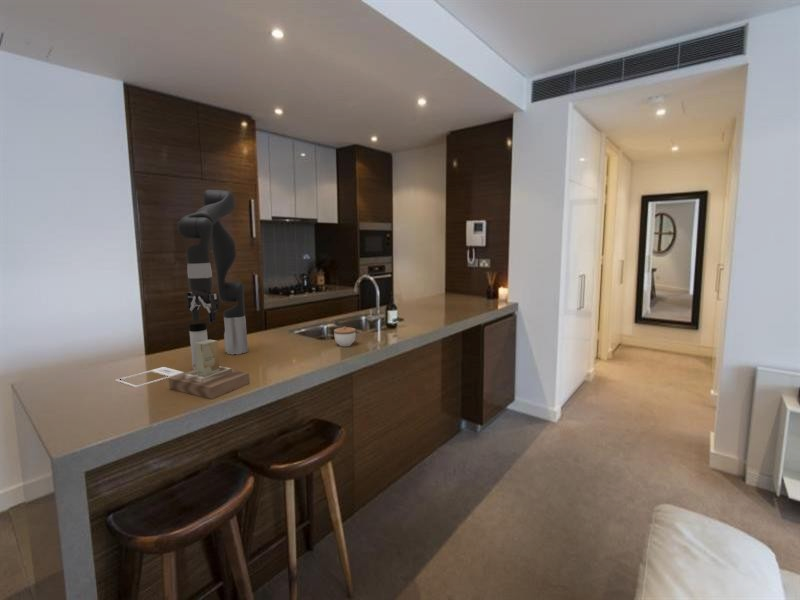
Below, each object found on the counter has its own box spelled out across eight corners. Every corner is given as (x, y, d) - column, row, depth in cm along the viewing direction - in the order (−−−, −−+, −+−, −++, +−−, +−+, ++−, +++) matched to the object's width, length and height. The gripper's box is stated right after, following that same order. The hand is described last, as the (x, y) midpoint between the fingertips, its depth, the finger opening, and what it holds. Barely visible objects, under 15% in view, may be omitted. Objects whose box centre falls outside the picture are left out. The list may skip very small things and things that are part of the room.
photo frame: (183, 371, 160) (135, 386, 145) (184, 374, 160) (135, 389, 145) (163, 366, 167) (115, 379, 152) (163, 368, 167) (115, 382, 152)
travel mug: (193, 373, 159) (188, 324, 156) (193, 369, 165) (188, 321, 162) (210, 371, 162) (206, 322, 159) (209, 366, 168) (205, 319, 165)
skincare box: (205, 378, 141) (202, 344, 139) (197, 376, 143) (193, 342, 141) (220, 372, 147) (218, 340, 145) (212, 371, 149) (209, 338, 147)
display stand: (169, 388, 143) (168, 374, 142) (208, 375, 157) (207, 361, 156) (211, 399, 133) (210, 383, 132) (249, 383, 147) (248, 369, 147)
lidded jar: (354, 347, 194) (354, 328, 193) (332, 347, 195) (331, 328, 193) (357, 342, 205) (356, 324, 204) (336, 342, 205) (335, 324, 204)
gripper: (176, 276, 139) (181, 322, 142) (204, 278, 133) (208, 326, 135) (196, 274, 146) (200, 318, 148) (223, 275, 139) (227, 321, 142)
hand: (204, 322), depth 142 cm, fingers open, 8 cm apart
